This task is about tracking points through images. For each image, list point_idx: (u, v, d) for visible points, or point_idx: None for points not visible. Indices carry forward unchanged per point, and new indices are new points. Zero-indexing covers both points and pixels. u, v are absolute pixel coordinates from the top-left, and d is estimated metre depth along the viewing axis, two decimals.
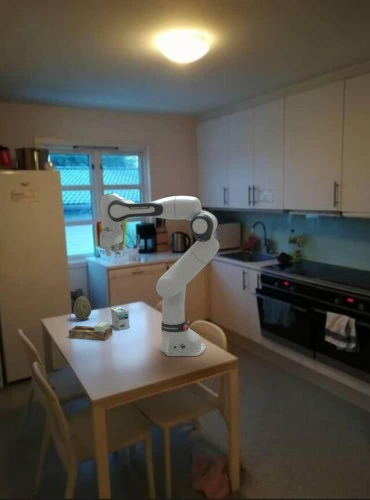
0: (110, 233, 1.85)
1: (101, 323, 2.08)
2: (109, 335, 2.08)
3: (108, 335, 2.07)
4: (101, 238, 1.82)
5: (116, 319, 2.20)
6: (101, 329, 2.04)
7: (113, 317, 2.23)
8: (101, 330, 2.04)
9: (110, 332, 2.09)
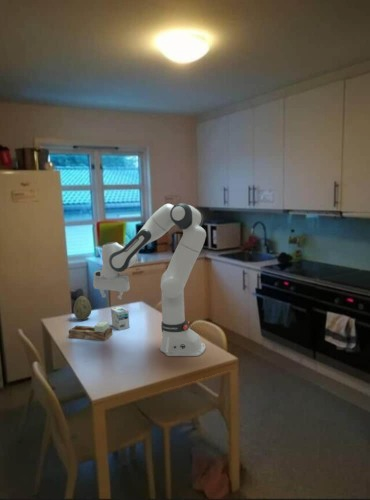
0: None
1: (101, 323, 2.08)
2: (109, 335, 2.08)
3: (108, 335, 2.07)
4: (127, 283, 1.98)
5: (116, 319, 2.19)
6: (101, 329, 2.04)
7: (113, 317, 2.23)
8: (101, 330, 2.04)
9: (110, 332, 2.09)
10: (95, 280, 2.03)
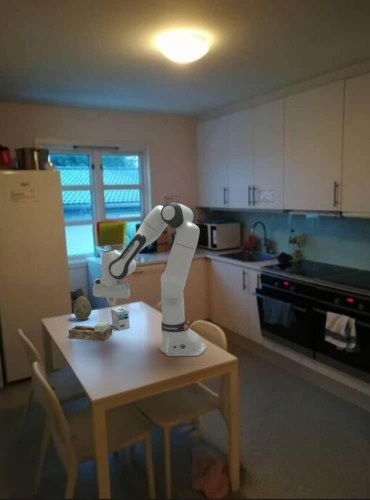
0: None
1: (101, 323, 2.08)
2: (109, 335, 2.08)
3: (108, 335, 2.07)
4: (127, 290, 2.00)
5: (116, 319, 2.20)
6: (101, 329, 2.04)
7: (113, 317, 2.23)
8: (101, 330, 2.04)
9: (110, 332, 2.09)
10: (95, 288, 2.03)
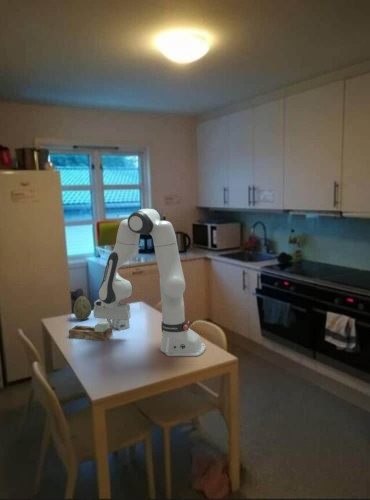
0: None
1: (101, 323, 2.08)
2: (109, 335, 2.08)
3: (108, 335, 2.07)
4: (128, 312, 2.01)
5: None
6: (101, 329, 2.04)
7: None
8: (101, 330, 2.04)
9: (110, 332, 2.09)
10: (95, 309, 2.04)
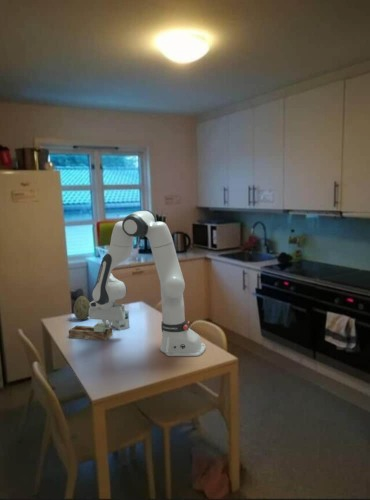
0: None
1: (100, 323, 2.08)
2: (109, 335, 2.08)
3: (108, 335, 2.07)
4: (123, 312, 2.02)
5: None
6: (101, 329, 2.04)
7: None
8: (100, 330, 2.04)
9: (110, 332, 2.09)
10: (90, 310, 2.06)
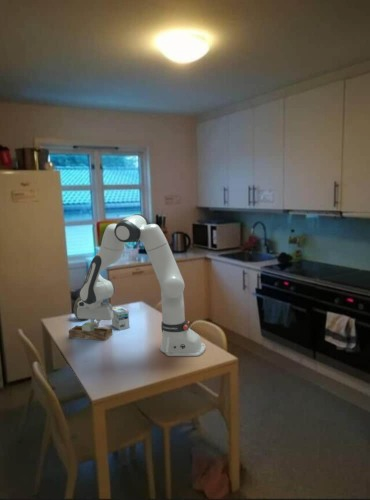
0: None
1: (88, 323, 2.10)
2: (109, 335, 2.08)
3: (108, 335, 2.07)
4: (110, 312, 2.04)
5: (116, 319, 2.20)
6: (89, 329, 2.06)
7: (113, 317, 2.23)
8: (88, 329, 2.06)
9: (110, 332, 2.09)
10: (79, 310, 2.08)
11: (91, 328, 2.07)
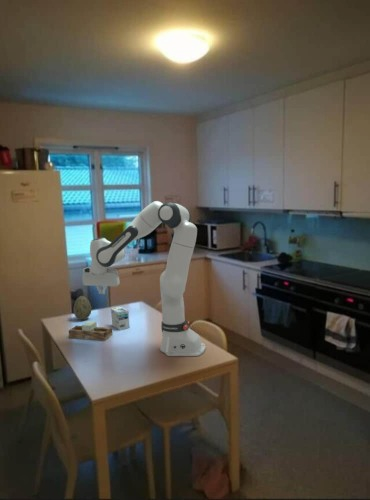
0: None
1: (88, 323, 2.10)
2: (109, 335, 2.08)
3: (108, 335, 2.07)
4: (117, 277, 2.00)
5: (116, 319, 2.20)
6: (89, 329, 2.06)
7: (113, 317, 2.23)
8: (88, 329, 2.06)
9: (110, 332, 2.09)
10: (84, 277, 2.04)
11: (91, 328, 2.07)
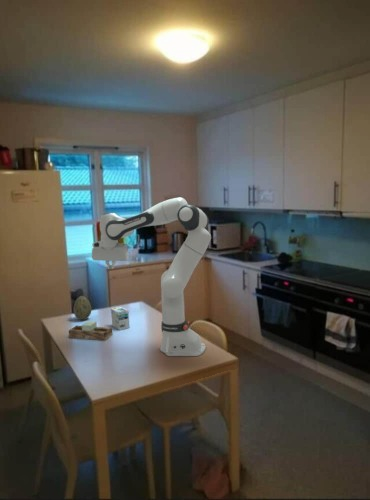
0: None
1: (88, 323, 2.10)
2: (109, 335, 2.08)
3: (108, 335, 2.07)
4: (126, 252, 2.02)
5: (116, 319, 2.20)
6: (89, 329, 2.06)
7: (113, 317, 2.23)
8: (88, 329, 2.06)
9: (110, 332, 2.09)
10: (94, 251, 2.05)
11: (91, 328, 2.07)
